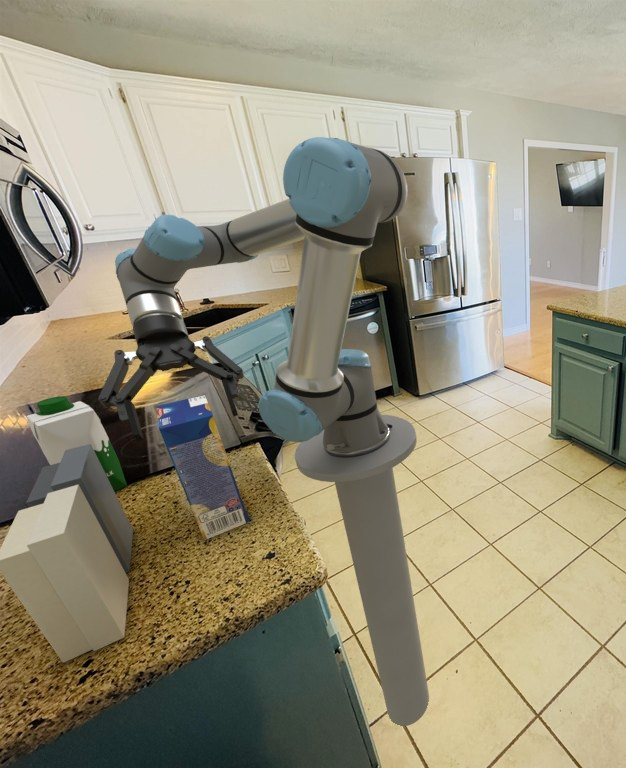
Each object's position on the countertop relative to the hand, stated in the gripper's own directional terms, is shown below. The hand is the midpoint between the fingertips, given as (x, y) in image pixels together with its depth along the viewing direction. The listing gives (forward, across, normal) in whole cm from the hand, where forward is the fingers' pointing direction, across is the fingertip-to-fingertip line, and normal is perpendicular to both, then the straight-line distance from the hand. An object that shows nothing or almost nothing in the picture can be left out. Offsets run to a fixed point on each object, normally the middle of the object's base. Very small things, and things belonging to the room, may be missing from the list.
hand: (189, 425), depth 71 cm
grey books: (+15, +16, -11) cm, 24 cm away
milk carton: (-4, +19, -29) cm, 35 cm away
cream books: (+25, +16, -1) cm, 29 cm away
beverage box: (+15, 0, -11) cm, 19 cm away
